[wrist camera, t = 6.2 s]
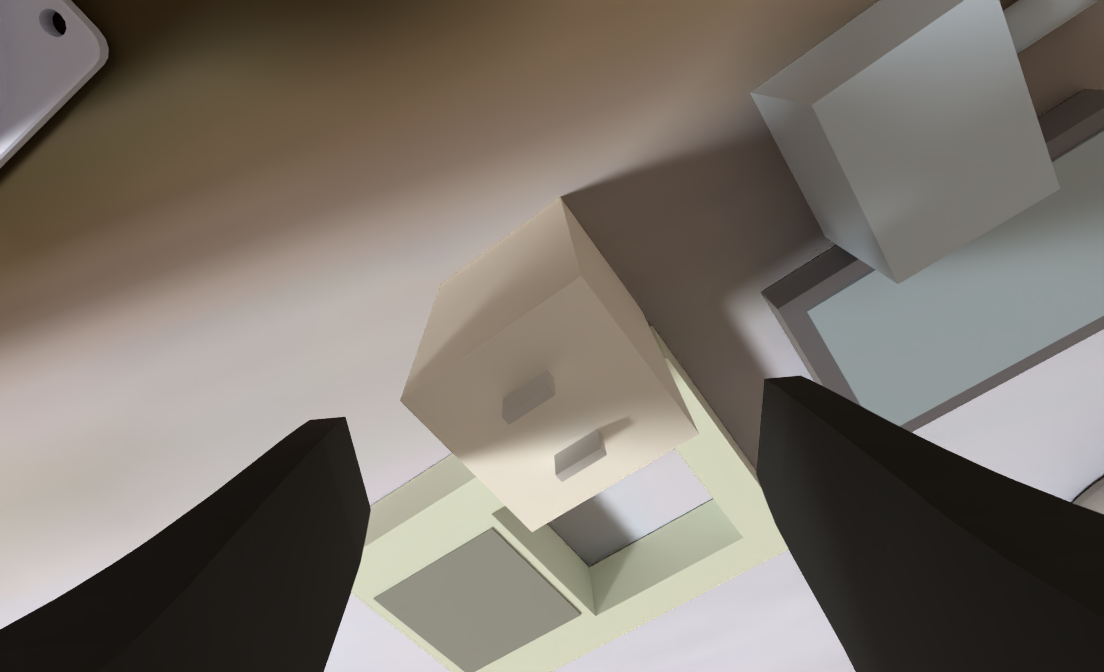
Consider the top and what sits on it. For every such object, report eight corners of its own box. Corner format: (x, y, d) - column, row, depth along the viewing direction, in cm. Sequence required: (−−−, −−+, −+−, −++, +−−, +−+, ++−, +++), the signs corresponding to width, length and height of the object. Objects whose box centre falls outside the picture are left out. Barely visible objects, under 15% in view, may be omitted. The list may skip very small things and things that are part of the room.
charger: (440, 284, 16) (393, 419, 10) (560, 196, 15) (585, 288, 9) (528, 385, 18) (532, 554, 12) (642, 310, 17) (708, 452, 11)
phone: (761, 292, 17) (778, 310, 15) (1084, 89, 15) (1132, 91, 14) (846, 433, 19) (866, 458, 18) (1136, 273, 17) (1180, 289, 16)
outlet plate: (342, 523, 20) (324, 573, 18) (651, 325, 17) (667, 358, 15) (493, 650, 23) (490, 704, 21) (775, 498, 20) (801, 544, 18)
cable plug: (749, 92, 14) (811, 105, 11) (1097, -156, 12) (1288, -224, 9) (825, 237, 16) (898, 284, 13) (1142, 39, 14) (1317, 36, 11)
